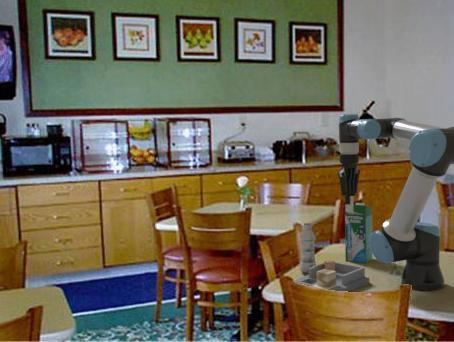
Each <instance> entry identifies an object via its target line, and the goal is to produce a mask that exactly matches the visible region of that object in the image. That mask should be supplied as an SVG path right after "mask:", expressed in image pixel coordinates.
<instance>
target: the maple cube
mask: <svg viewBox="0 0 454 342" xmlns="http://www.w3.org/2000/svg"><path fill="white" fill-rule="evenodd" d="M317 285H318V286H323V287H327V288H329V287H331V286H334V285H336V271H333V270H328V269H323V270H320V271H317Z"/></svg>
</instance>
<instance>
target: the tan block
mask: <svg viewBox="0 0 454 342" xmlns="http://www.w3.org/2000/svg"><path fill="white" fill-rule="evenodd" d="M335 262H336V261H335V260H324V263H325V269H328V270H333V271H335Z"/></svg>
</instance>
